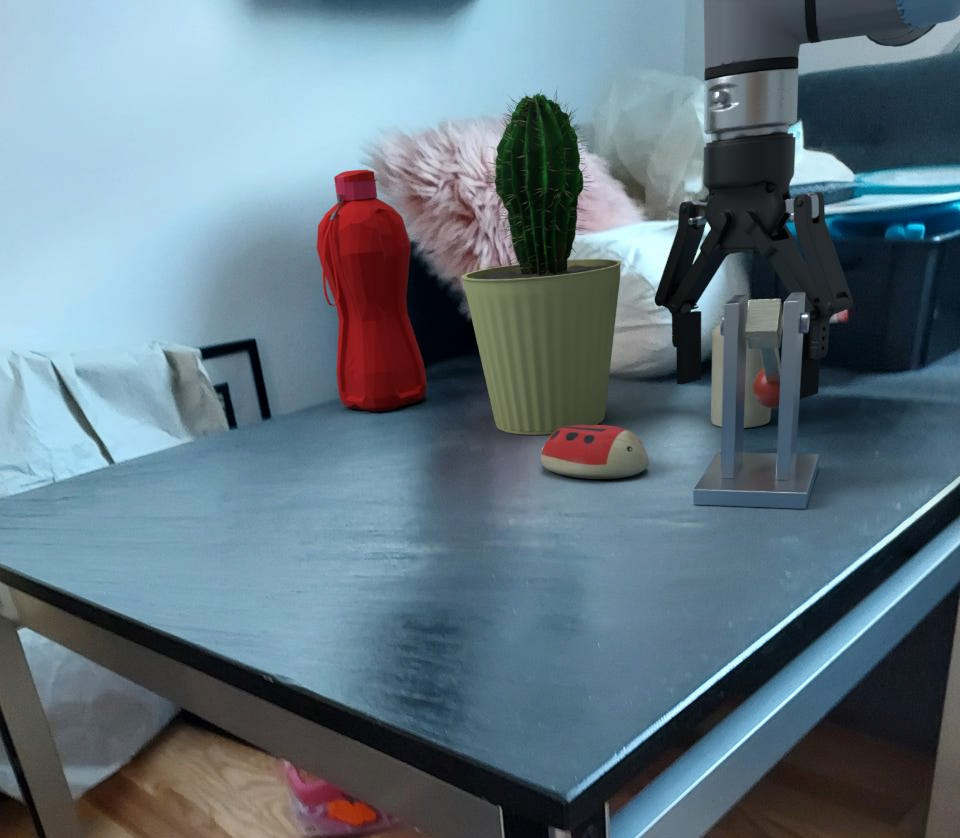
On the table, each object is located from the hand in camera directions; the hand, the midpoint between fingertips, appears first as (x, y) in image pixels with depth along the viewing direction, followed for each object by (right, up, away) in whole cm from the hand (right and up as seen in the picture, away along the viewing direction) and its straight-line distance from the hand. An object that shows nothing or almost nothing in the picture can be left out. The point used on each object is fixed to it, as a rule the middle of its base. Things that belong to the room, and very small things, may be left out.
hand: (743, 388), depth 89 cm
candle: (0, -3, +2) cm, 3 cm away
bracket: (-3, -12, -16) cm, 20 cm away
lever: (-3, -4, -16) cm, 17 cm away
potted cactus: (-18, -1, +9) cm, 20 cm away
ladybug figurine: (-15, -9, -9) cm, 20 cm away
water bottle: (-37, +4, +23) cm, 44 cm away
